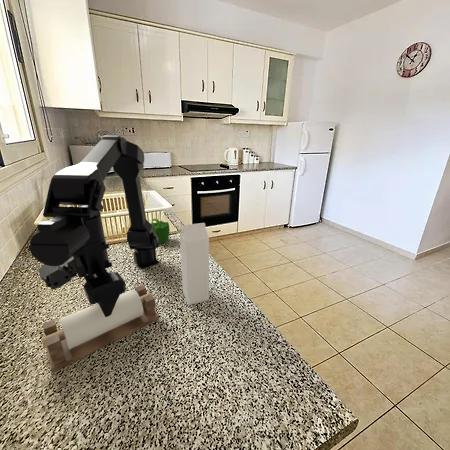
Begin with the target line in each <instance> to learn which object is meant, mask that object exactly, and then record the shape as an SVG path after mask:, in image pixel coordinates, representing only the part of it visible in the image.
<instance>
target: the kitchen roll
mask: <svg viewBox="0 0 450 450" xmlns="http://www.w3.org/2000/svg"><path fill="white" fill-rule="evenodd" d="M150 294H151V295H152V296H153V297H154V295H153V294H152V292H147V294H145V295H143V296H141V297H139V295H138V293H137V292H136V290H135V289H131V290H129V291H127V292H126V291H125V292H124V293H122V294H120V296H119V298H118V300H117V302H116V304H115V307H114V309H113V311H112V314H111V315H110V316H108V317H105V316H104V314H103V312H102V310H101V308H100V306H99V304H98V303H97V304H92V305H91V306H89V307H86V308H83V309H80V310H79V311H76V312H73V313H70V314H68V315H66V316H62V317H60V318H59V321H60V324H61V328H62V329H60V330H57V332H55V333H53V334H50V335H48V336H43V337H41V342H42V345H43V348H44V349H47V344H46V340H45V339H47V338H49V337H52V336H54V335H56V334H58V335H59V339H60V341H62V340H64V339H66V341H67V344H68V348H69V350H70V349H72V348H74V347H76V346H78V345H80V344H82V343H84V342H86V341H89V340H91V339H93V338H95V337H97V336H99V335H101V334H103V333H106V332H108V331H110V330H112V329H114V328H116V327H118V326H120V325H122V324H125V323H127V322H129V321H131V320H133V319H135V318H137V317H139V316H142V315H143V306H142V305H143V304H144V300H143V297H146V296H148V295H150Z"/></svg>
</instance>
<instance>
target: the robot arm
mask: <svg viewBox="0 0 450 450" xmlns="http://www.w3.org/2000/svg"><path fill="white" fill-rule="evenodd" d="M98 139H99V140H98V142H97V144H96V145H95V146H94V147H93V148H92V149H91V150H90V152H88V153H87V155H85V157H84V158H83V159H82V160H81V161H80V162H79V163H77V164H74V165H71V166H67V167H64V168H63V169H61V170H59V171H57V172H56V173H54V175H52V177H51V180H50V182H49V186H48V192H47V195H46V200H45V204H44V208H43V209H44V210H43V213H42V216H43V217H44V218H51V219H48V220H45V221H42V222H39V223H38V224H37V225H36V226H37V230H38V232H37V233H35V234H34V235H33V236H32V237H31V239H30V241H29V245H28V248H29V251H30V253H31V255H32V256H33V258H34V259H36V260H37V261H38V262H39V263H41V264H43V265H41V266H40V267H39V268H38V273H39V278H40V279H41V280H42V281H43V282H44V283H45V285H46V288H50V289H51V290H53V291H54V290H57V289H59V288H61V287H63V286H64V285H66V284H68V283H69V282H71V281H72V279H73V278H74V277H75V276H78V278H79V279H81V278H84V280H85V283H84V284H83V290H84V294H85V296H86V299H87V300H88V303H89V304H90V305H96V304H99V306H100V308H101V310H102V312H103V314H104V316H105V317H108V316H110V315H111V314H112V311H113V309H114V307H115V304H116V302H117V300H118V298H119V296H120V295H121V294H124V293H126V291H127V284H126V281H125V280H124V278H123V277H122V276H121V275H120V274H119V273H118V272H115V271H111V272H108V270H107V269H108V268H111V267H113V262H112V261H111V259H110V258H109V255H108V249H110V245H109V242H108V241H107V240H106V237H105V232H104V227H103V226H104V225H103V220H102V216H101V215H102V214H101V211H103V210H104V209H105V207H104V205H103V204H102V203H103V198H104V195H105V192H106V190H107V188H106V186H105V181H104V180H105V179H106V178H107V175H109V172H110V171H111V170H112V169H113V172H114V173H115V174H116V175H117V176H118V177H119V178H120V179H121V181H122V186H123V192H124V195H125V196H124V197H125V201H126V206H127V211H128V215H129V221H130V226H129V228H128V230H127V232H126V242H127V244H128V248H129V250H134V251H133V253H132V254H133V263H134V264H135V265H136V266H137V267H138V268H139V269H141V270H142V269H145V268H149V267H151V266H154V265H157V264H159V263H160V261H159V260H158V259H157V249H158V248H160V243H159V238H158V237H157V235H156V234H155V233H154V230H153V226H152V225H151V222H150V221H148V220H147V216H146V211H145V209H146V208H145V204H144V203H145V201H144V198H143V197H144V196H143V191H142V185H141V178H140V175H141V173H142V171H143V169H144V167H145V165H144V163H145V153H144V151H143V149H142V148H141V147H140V146H139V145H138V144H135V143H134V142H131V141H128V140H127V139H126V138H125V137H124V136H120V135H103V136H100V137H99V138H98ZM60 205H63V206H60Z"/></svg>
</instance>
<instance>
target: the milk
mask: <svg viewBox="0 0 450 450" xmlns="http://www.w3.org/2000/svg"><path fill="white" fill-rule="evenodd" d="M181 228H182V229H181V230H182V231H181V232H179V239H180V240H179V242H180V258H181V259H180V260H181V262H180V263H181V282H182V283H181V284H182V293H183V296H184V298H185V300H186V303H187V305H188V306H191V305H194V304H198V303H203V302H206V301H209V300H210V237H209V234H208V232H207V229H206V223H205V222H201V223H192V224H185V225H184V224H183V225H182V226H181Z"/></svg>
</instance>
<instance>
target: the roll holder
mask: <svg viewBox="0 0 450 450" xmlns="http://www.w3.org/2000/svg"><path fill="white" fill-rule="evenodd" d="M134 290H136V292H137V293H138V295H139V297H141V296H143V295H145V294H148V292H147V288H146V287H145V286H144V284H140V285H138V286H135V287H134ZM151 294H152V293H151ZM151 294H150V295H148V296H146V297H143V300H144V304H143V305H142V306H143V315H142V316H139V317H137V318H135V319H133V320H131V321H129V322H127V323H125V324H122V325H120V326H118V327H116V328H114V329H112V330H110V331H108V332H106V333H103V334H101V335H99V336H97V337H95V338H93V339H91V340H89V341H86V342H84V343H82V344H80V345H78V346H76V347H74V348H72V349H70V350H69V348H68V344H67V341H66V339H64V340H62V341H60V339H59V335H58V334H56V335H54V336H52V337H49V338H47V339H45V340H46V344H47V347H46V352H47V356H48V362H49V366H50V367H49V368H50V371H51V374H52V373H54V372H56V371H59V370H60V369H62V368H64V367H66V366H68V365H70V364H73V363H74V362H76V361H78V360H80V359H82V358H84V357H86V356H88V355H90V354H92V353H94V352H96V351H98V350H100V349H102V348H104V347H106V346H108V345H110V344H112V343H114V342H117V341H119V340H120V339H122V338H124V337H126V336H128V335H130V334H132V333H134V332H136V331H137V330H140V329H142V328H144V327H146V326H148V325H150V324H152V323H153V322H155V321H158V320H159V319H160V317H159V315H158V313H157V312H156V298H155V296H154V295H153V294H152V295H153V296H152V295H151ZM41 325H42V328H43V333H44V335H45V336H44V337H46V336H48V335H50V334H53V333H55V332H57V331H58V327H57V323H56V321H55V319H54V318H53V319H50V320H48V321H46V322H44V323H41Z"/></svg>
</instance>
